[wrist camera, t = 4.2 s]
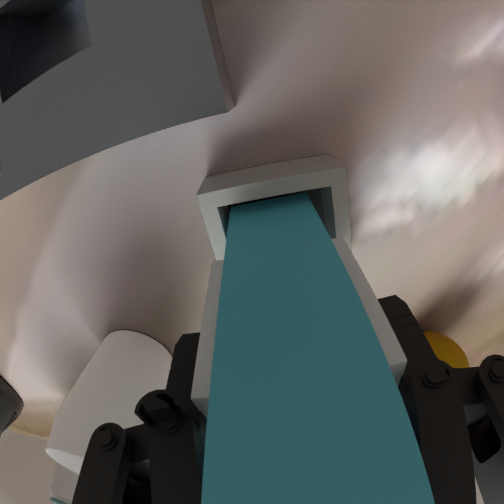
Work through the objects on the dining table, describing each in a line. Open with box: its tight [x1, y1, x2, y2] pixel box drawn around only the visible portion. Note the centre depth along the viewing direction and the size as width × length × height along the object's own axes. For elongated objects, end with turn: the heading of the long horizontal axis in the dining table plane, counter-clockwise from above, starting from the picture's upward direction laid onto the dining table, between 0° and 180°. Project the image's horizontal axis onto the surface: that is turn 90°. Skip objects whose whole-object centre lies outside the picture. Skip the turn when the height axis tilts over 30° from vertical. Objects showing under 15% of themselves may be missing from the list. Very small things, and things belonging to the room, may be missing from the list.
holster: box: [196, 154, 352, 261], centre depth 16 cm, size 7×7×3 cm
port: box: [0, 0, 235, 200], centre depth 9 cm, size 14×14×6 cm
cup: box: [46, 330, 173, 474], centre depth 19 cm, size 9×9×12 cm
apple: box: [423, 331, 469, 368], centre depth 20 cm, size 6×6×8 cm
